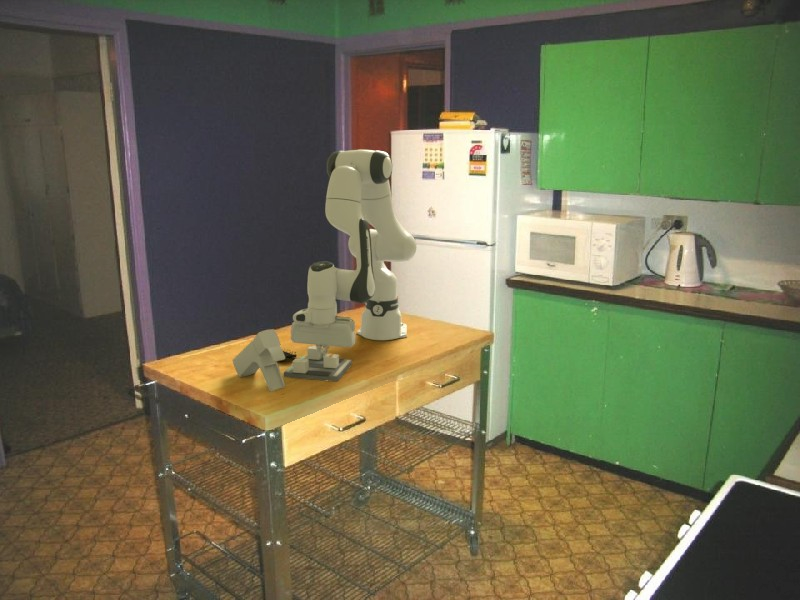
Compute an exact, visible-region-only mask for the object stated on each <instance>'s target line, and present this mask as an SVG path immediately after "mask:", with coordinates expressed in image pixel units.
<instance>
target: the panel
mask: <svg viewBox="0 0 800 600" xmlns="http://www.w3.org/2000/svg"><path fill="white" fill-rule="evenodd" d="M299 359H307V356H306V355H305V356H304V355H301V356H300V357H299ZM352 365H353V359H345V358H341V357H339V366H338V367H337V368H325V367H324V359H322V358H321V359H320V360H314V359H309V370H308V371H307V372H306V373H294V372H293V363H292V364H291V365H290V366H289V367H288V368H286V369H285V371H283V378H291V379H302V378H305V380H314V379H316V380H315V381H325V380H328V381H327V382H336V381H337V382H339V380H341V379H342V377H343V376H344V374H345V373H346V372H347V371H348V370H349V367H350V368H351V366H352ZM342 375H343V376H342Z"/></svg>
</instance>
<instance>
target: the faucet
mask: <svg viewBox="0 0 800 600" xmlns="http://www.w3.org/2000/svg"><path fill="white" fill-rule="evenodd" d="M282 350H283V348H282V347H281V341H280V338H279V336H278V333H277V332H276V330H275V329H274V328H272V329H271V328H270V329H265V330H262V331H259V332H258V333H257V334H256V335H255V336H254V338H253V340H251V341H250V342H249V344H247V346H246V347H244V348H243V349H242V350H241V351H240V352H239V353H238V354H237V355H236V356H235V357H234V358H233V359H232V364H233V366H234V370H235V371H236V373H237V375H238V377H239V378H240V377H247V376H250V375H253V374H255V373H257V372H258V370H259V369H260V372H261V373H262V376H263V378H264V381H265V383H266V385H267V388H268V391H270V392H274V391H276V390H280V389H283V388H285V387H286V384H285V380H284V376H283V375H282V374H283V373H282V372H281V369H280V367H279V366H280V365H279V363H278V362H280V361H285V360H286V359H285V355H284V353H283V351H284V350H283V351H282ZM284 359H285V360H284Z"/></svg>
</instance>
